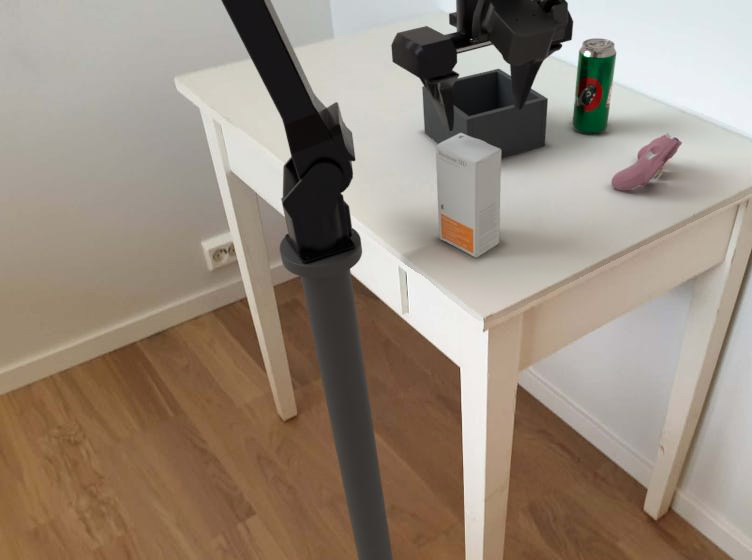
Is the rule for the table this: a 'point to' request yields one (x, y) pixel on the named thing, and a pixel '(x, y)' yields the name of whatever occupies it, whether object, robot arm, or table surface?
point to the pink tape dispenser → (647, 163)
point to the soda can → (594, 85)
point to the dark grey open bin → (491, 114)
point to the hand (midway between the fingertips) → (484, 119)
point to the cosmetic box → (468, 193)
